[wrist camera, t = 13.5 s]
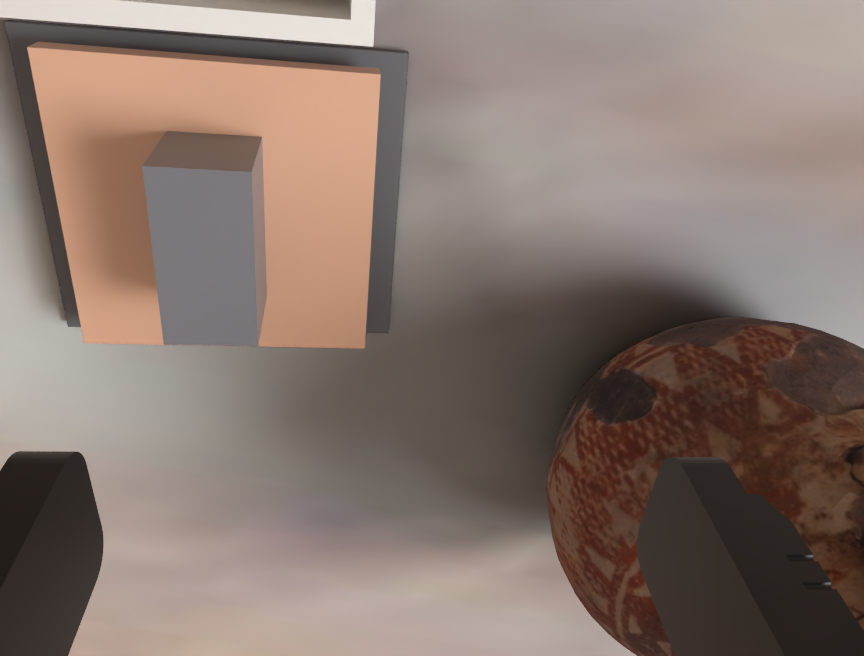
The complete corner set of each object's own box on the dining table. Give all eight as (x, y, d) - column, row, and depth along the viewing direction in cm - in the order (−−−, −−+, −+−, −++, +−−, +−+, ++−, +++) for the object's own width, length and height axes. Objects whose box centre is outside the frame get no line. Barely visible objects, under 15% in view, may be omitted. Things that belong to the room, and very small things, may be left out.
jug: (833, 478, 51) (1177, 888, 30) (558, 560, 53) (705, 1007, 32) (838, 212, 39) (1415, 585, 18) (483, 327, 41) (638, 797, 20)
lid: (378, 62, 32) (387, 101, 26) (363, 324, 39) (367, 400, 33) (48, 36, 30) (-22, 72, 24) (98, 318, 37) (53, 398, 31)
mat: (407, 51, 32) (408, 53, 32) (387, 328, 40) (388, 332, 39) (9, 20, 30) (4, 21, 29) (71, 321, 37) (67, 326, 37)
